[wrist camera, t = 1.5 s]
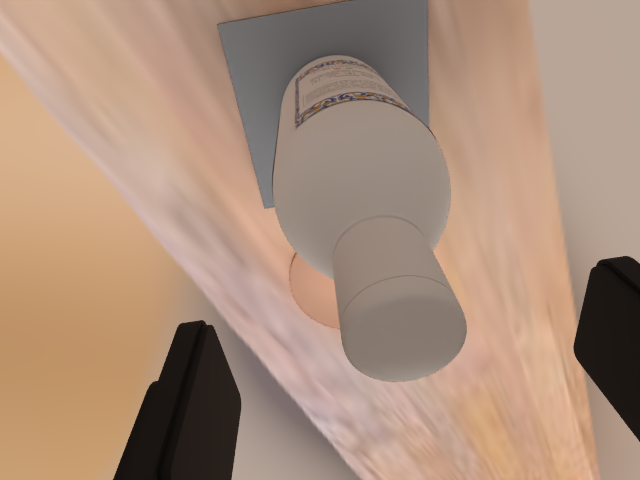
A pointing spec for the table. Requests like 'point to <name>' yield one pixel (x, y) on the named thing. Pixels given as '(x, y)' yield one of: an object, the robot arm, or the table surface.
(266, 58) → the tile
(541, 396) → the table surface
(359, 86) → the bath foam
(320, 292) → the flat salmon disc
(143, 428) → the robot arm
